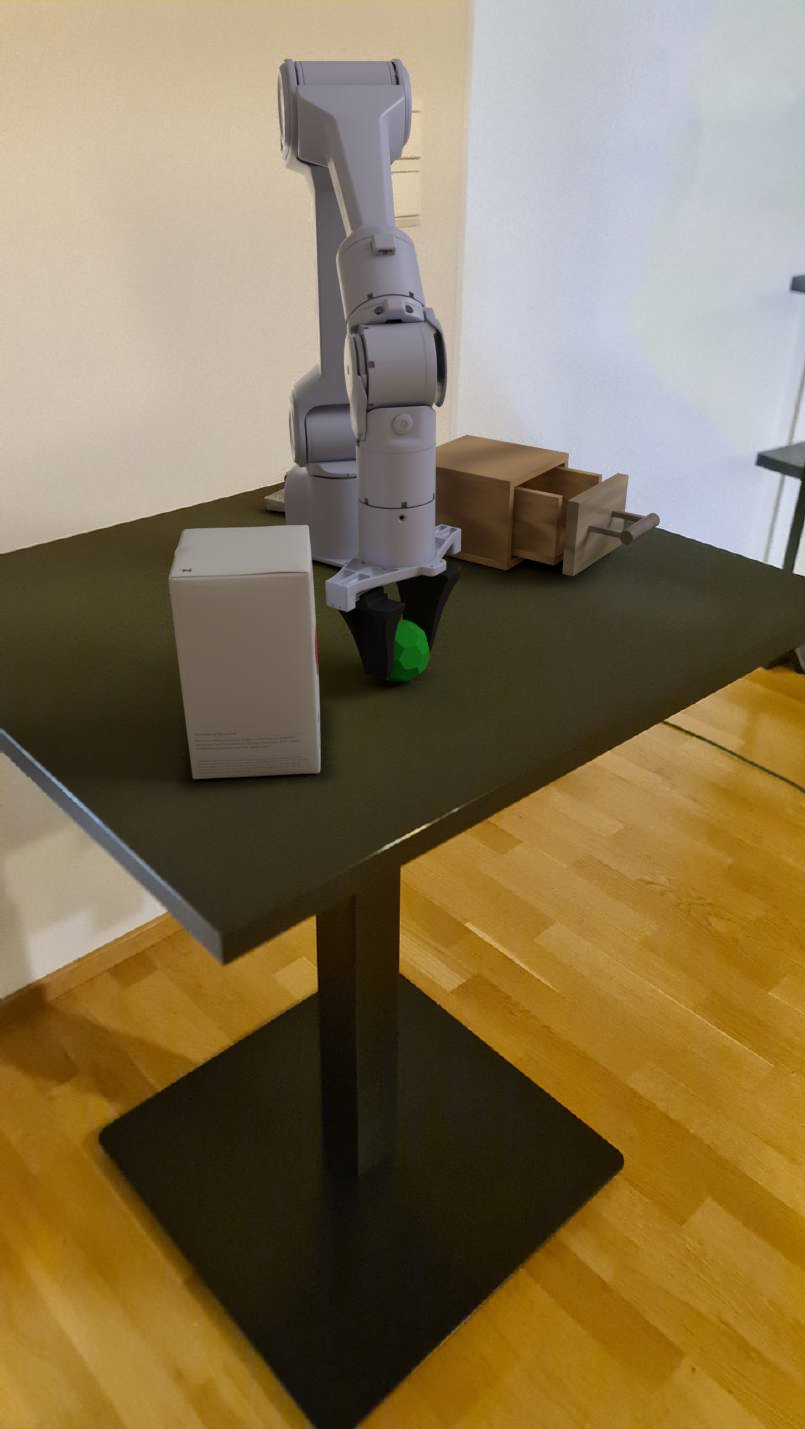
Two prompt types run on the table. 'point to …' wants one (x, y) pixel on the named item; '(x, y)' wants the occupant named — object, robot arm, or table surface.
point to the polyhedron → (409, 652)
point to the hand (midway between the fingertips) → (398, 662)
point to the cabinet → (485, 493)
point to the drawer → (573, 518)
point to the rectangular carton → (247, 650)
